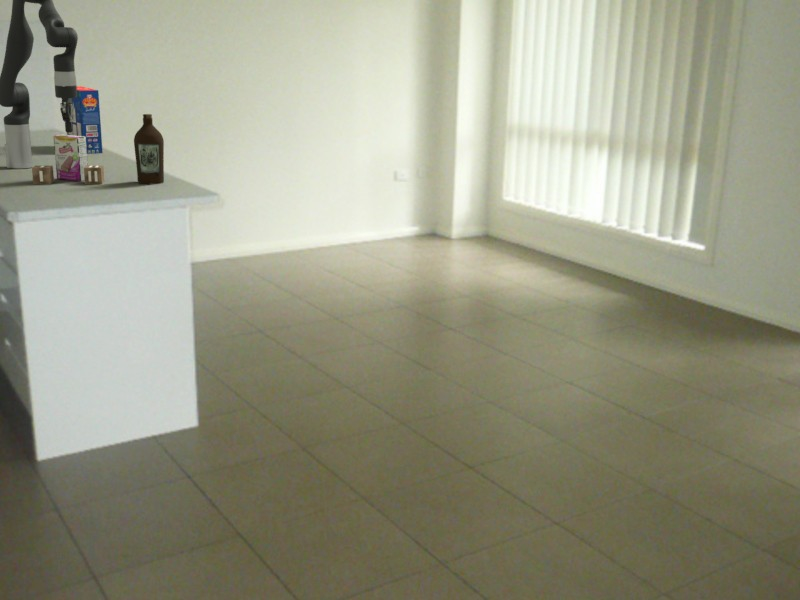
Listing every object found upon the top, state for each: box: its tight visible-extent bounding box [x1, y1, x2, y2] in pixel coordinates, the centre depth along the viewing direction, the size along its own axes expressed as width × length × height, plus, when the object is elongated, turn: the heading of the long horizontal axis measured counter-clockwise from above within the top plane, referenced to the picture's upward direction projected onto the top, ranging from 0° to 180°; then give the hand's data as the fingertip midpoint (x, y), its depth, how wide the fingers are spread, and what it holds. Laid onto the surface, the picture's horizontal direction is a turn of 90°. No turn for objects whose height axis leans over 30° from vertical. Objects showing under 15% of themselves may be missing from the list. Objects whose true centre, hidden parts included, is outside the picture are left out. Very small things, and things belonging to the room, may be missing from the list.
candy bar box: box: [53, 134, 89, 182], centre depth 340 cm, size 11×5×16 cm, turn 71°
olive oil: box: [133, 113, 165, 185], centre depth 338 cm, size 11×11×25 cm
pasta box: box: [66, 86, 104, 155], centre depth 421 cm, size 28×8×28 cm, turn 34°
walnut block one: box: [31, 165, 55, 185], centre depth 334 cm, size 6×6×6 cm
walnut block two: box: [84, 165, 105, 185], centre depth 337 cm, size 6×6×6 cm
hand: (69, 132), depth 338 cm, fingers closed
